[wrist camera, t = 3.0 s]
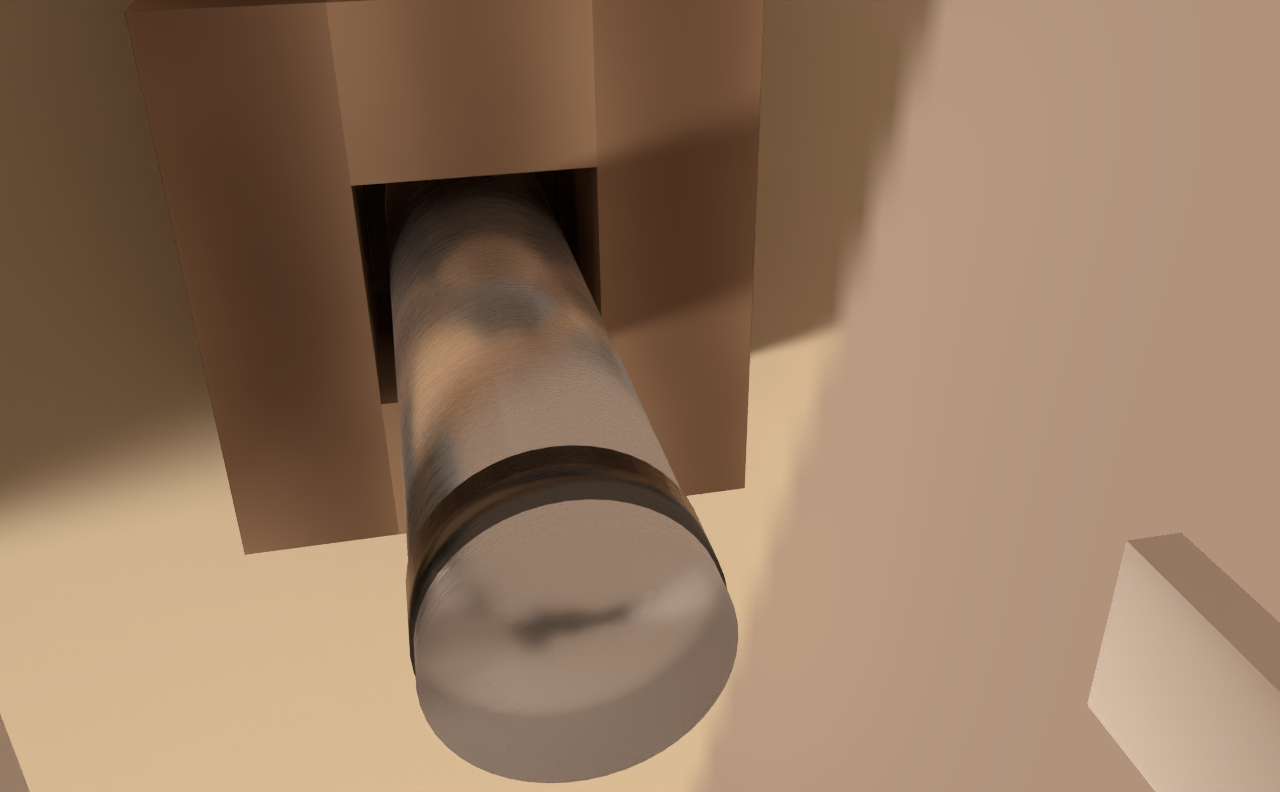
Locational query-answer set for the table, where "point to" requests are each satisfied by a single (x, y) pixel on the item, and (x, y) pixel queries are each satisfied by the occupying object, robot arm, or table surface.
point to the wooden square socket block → (437, 149)
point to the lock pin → (537, 502)
